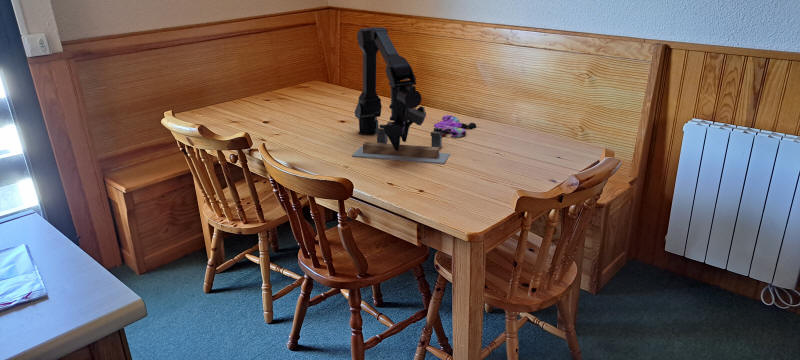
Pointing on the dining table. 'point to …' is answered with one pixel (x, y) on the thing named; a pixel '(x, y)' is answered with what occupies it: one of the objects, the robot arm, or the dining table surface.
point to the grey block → (437, 137)
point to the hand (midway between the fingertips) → (400, 146)
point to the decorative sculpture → (453, 126)
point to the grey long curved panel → (402, 157)
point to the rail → (401, 150)
